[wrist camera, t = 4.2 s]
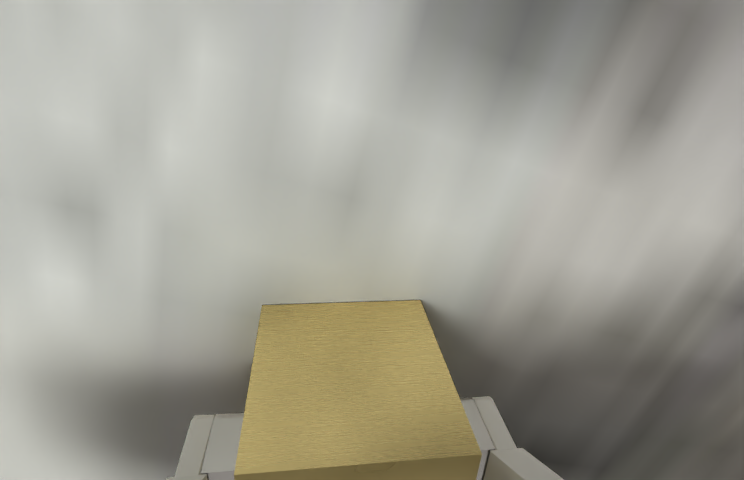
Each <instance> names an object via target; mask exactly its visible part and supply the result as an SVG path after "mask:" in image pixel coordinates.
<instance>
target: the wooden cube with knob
mask: <svg viewBox="0 0 744 480" xmlns="http://www.w3.org/2000/svg"><path fill="white" fill-rule="evenodd" d="M481 456H482V453H481V450H480V448H479V445H478V443H477V440H476V438H475V435H474V433H473V430H472V428H471V425H470V423H469V420H468V418H467V415H466V413H465V410H464V408H463V405H462V403H461V400H460V398H459V395H458V393H457V390H456V388H455V385H454V383H453V380H452V378H451V375H450V373H449V370H448V368H447V365H446V363H445V360H444V358H443V355H442V353H441V350H440V348H439V345H438V343H437V340H436V338H435V335H434V333H433V330H432V328H431V325H430V323H429V320H428V318H427V315H426V313H425V310H424V308H423V305H422V303H421V300H411V301H380V302H349V303H319V304H288V305H262V309H261V315H260V321H259V327H258V333H257V339H256V345H255V351H254V357H253V363H252V369H251V375H250V381H249V387H248V393H247V399H246V405H245V411H244V417H243V423H242V429H241V435H240V441H239V447H238V453H237V459H236V465H235V471H234V479H235V480H476V478H477V474H478V469H479V465H480V461H481Z"/></svg>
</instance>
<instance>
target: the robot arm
mask: <svg viewBox="0 0 744 480" xmlns="http://www.w3.org/2000/svg"><path fill="white" fill-rule="evenodd" d="M460 400H461V403H462V405H463V408H464V410H465V413H466V415H467V418H468V420H469V423H470V425H471V428H472V430H473V433H474V435H475V438H476V440H477V443H478V445H479V448H480V450H481V453H482V456H481V461H480V465H479V469H478V474H477V478H476V480H564V479H563V478H561V477H560V476H559V475H557V474H556V473H555V472H553V471H552V470H551V469H549V468H548V467H547V466H546V465H544V464H543V463H542V462H540V461H539V460H538V459H536V458H535V457H534V456H532V455H531V454H530V453H529V452H527V451H526V450H525V449H523V448H517V447H516V445H515V443H514V441H513V439H512V437H511V435H510V433H509V431H508V429H507V427H506V425H505V423H504V421H503V419H502V417H501V415H500V413H499V411H498V409H497V407H496V405H495V403H494V401H493V399H492V398H491V397H490V396H484V397H471V398H469V397H468V398H460ZM243 417H244V413H228V414H211V415H194V417H193V419H192V420H191V422H190V426H189V429H188V432H187V436H186V439H185V442H184V446H183V449H182V452H181V456H180V459H179V462H178V466H177V469H176V472H175V476H174V477H167V478H166V479H165V480H235V479H234V471H235V465H236V459H237V453H238V447H239V441H240V435H241V429H242V423H243Z"/></svg>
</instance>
